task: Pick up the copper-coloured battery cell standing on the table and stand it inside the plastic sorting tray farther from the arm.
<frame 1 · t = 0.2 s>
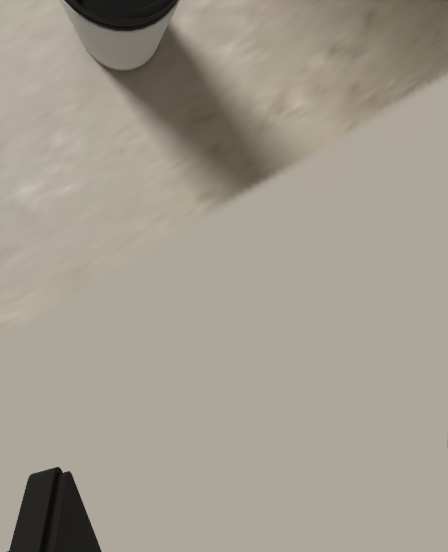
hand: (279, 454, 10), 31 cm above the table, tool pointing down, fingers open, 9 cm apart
travel mug: (119, 25, 33), on the table
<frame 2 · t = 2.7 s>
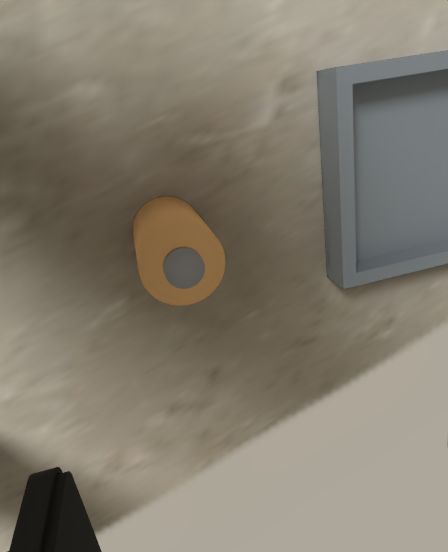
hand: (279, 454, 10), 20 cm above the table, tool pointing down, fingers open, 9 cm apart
battery cell: (167, 230, 27), on the table
sorting tray: (413, 165, 30), on the table
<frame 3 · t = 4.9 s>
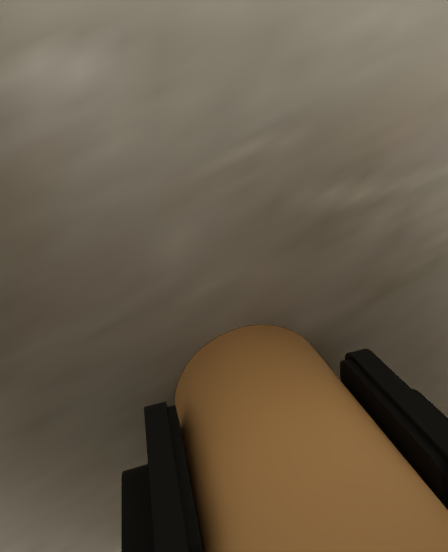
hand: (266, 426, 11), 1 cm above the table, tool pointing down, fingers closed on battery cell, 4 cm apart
battery cell: (251, 394, 12), on the table, touching gripper
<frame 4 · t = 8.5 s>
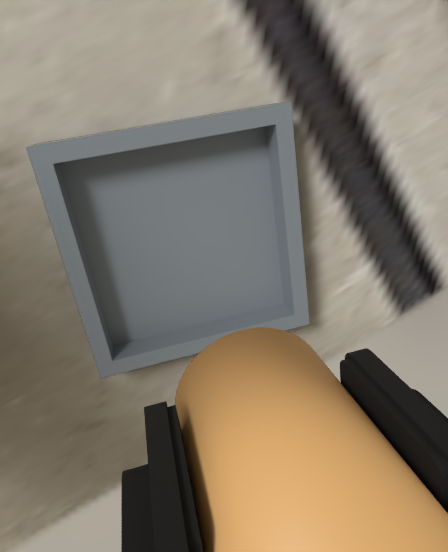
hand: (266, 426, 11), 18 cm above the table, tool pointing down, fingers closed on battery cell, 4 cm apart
battery cell: (252, 396, 12), point 16 cm above the table, touching gripper
sorting tray: (183, 238, 27), on the table
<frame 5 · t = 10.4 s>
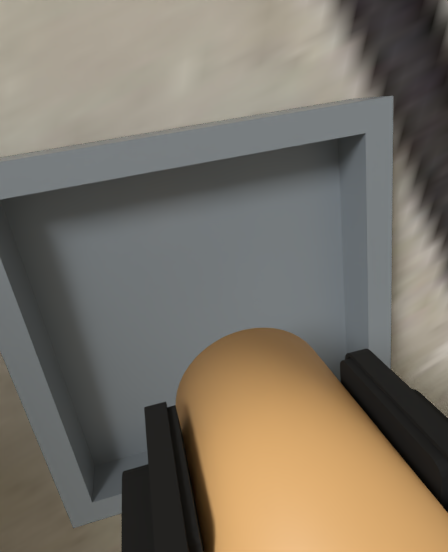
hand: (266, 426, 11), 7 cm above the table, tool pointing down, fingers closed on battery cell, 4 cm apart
battery cell: (252, 396, 12), point 6 cm above the table, touching gripper
sorting tray: (203, 305, 17), on the table
when the fingers open (3 cm above the table, at t = 12.0 s): battery cell drops 1 cm, resting on sorting tray.
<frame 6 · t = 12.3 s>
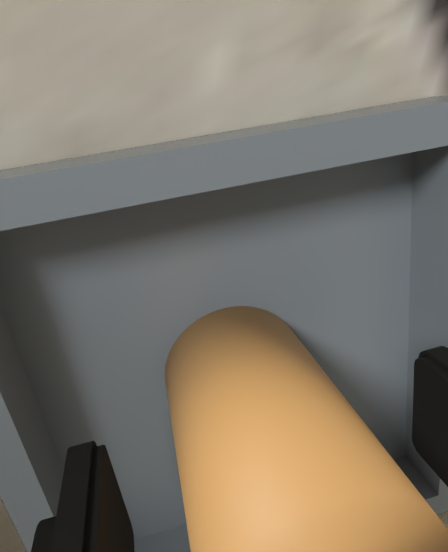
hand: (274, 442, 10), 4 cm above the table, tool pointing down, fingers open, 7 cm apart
battery cell: (234, 369, 13), point 1 cm above the table, touching sorting tray
sorting tray: (234, 356, 14), on the table
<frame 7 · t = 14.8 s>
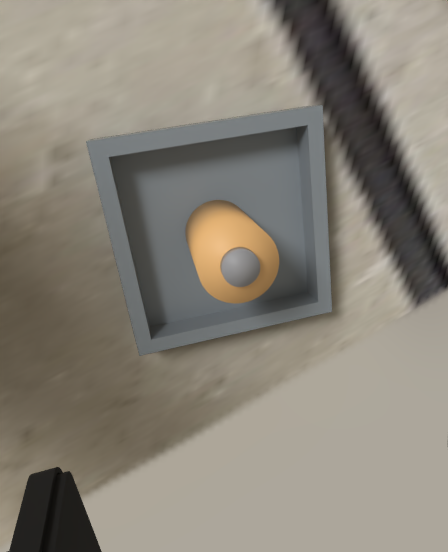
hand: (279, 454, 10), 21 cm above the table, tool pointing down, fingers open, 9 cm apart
battery cell: (217, 232, 29), point 1 cm above the table, touching sorting tray
sorting tray: (217, 228, 29), on the table
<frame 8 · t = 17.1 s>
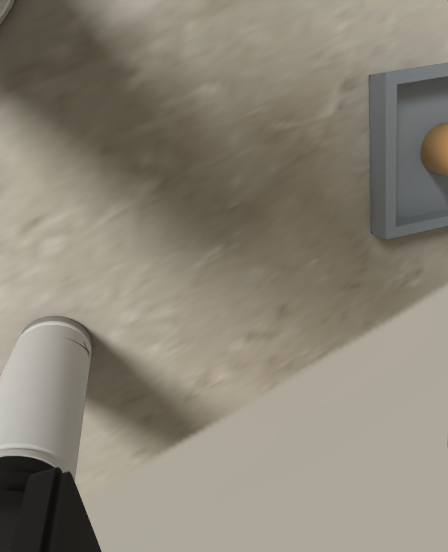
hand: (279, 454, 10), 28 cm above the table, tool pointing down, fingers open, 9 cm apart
battery cell: (441, 148, 39), point 1 cm above the table, touching sorting tray
travel mug: (56, 343, 38), on the table
sorting tray: (438, 146, 39), on the table
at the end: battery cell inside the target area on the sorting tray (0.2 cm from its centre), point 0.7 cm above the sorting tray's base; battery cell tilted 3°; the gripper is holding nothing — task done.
